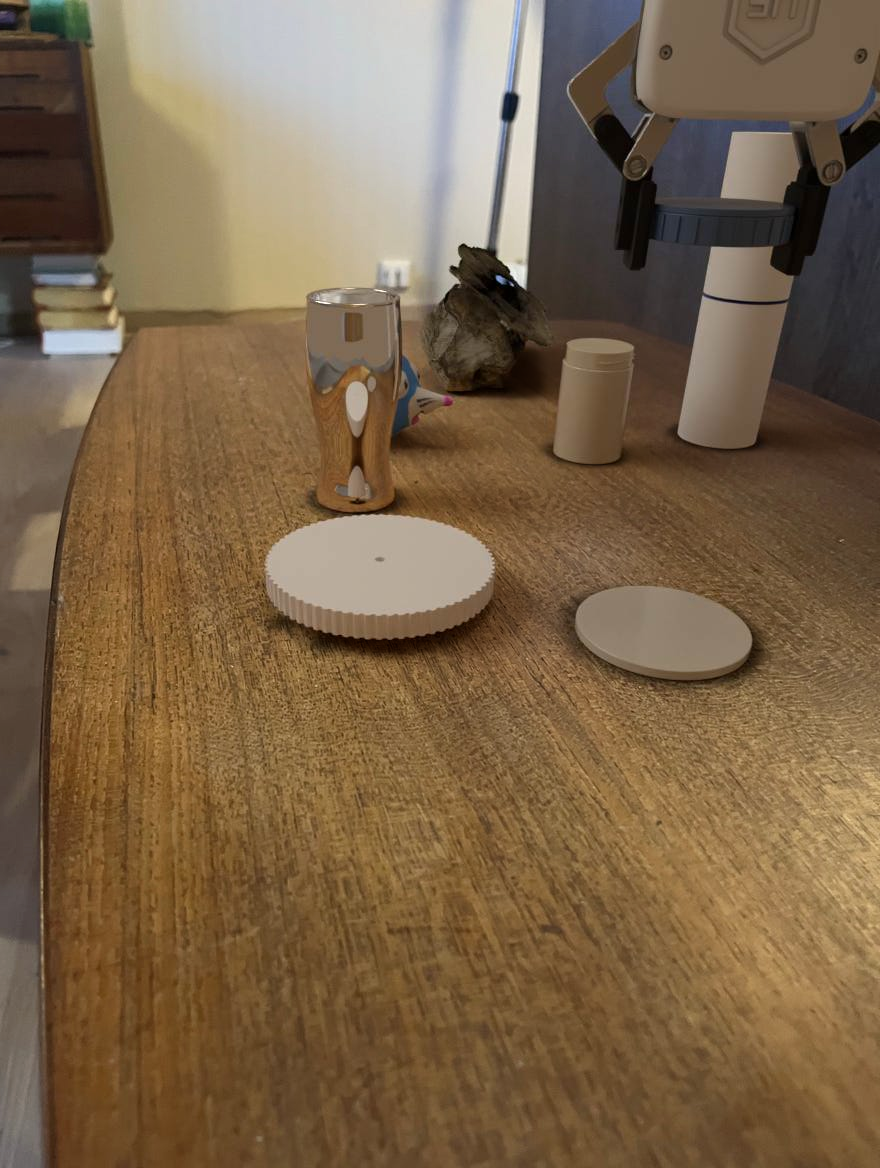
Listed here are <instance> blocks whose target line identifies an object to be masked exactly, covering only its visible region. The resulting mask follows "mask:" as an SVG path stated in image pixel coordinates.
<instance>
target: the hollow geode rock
mask: <svg viewBox="0 0 880 1168" xmlns="http://www.w3.org/2000/svg"><path fill="white" fill-rule="evenodd" d="M457 255H458V256H459V258H460V260H459V262H458V266H456V265H453V264H451V265H450V266H449V268H448V272H449V273H450V274H451V275H452V276H453V277H454V278H456V279H457V281H458V282H459V283H454V284H453V285H452V287H451V288H450V289H449V290H448V291H447V292H445V294H444V297H443V298H442V299H441V300H440V301H439V303H437V304H436V306H435V307H434V309H433V310H432V311H431V312H429V313H428V314H426V316H425V317H424V319H423V322H422V325H421V329H420V331H419V334H420V342H421V344H422V350H423V352H424V354H425V356H426V359H427V361H428V365H429V366H430V368H431V369H432V371H433V372H434V374H435V376H436V378H437V380H438V382H439V384H440V385H441V387H442V388H443V390H444V391H446V392H455V391H456V392H465V391H475V390H477V389H484V388H493V389H501V388H504V386H505V383H506V380H507V378H508V377H509V375H510V373H511V370H512V368H513V366H515V364H516V363H517V361H518V360H519V357H520V355H521V353H522V352H523V351H524V349H525V348H526V343H527V342H529V341H532V342H534V344H535V345H538V346H540V347H541V346H543V347H547V346H551V344H552V340H553V339H554V335H552V333H551V330H550V328H549V327H548V324H549V323H548V318H547V315H546V312H548V310H549V309H548V306H547V304H546V303H545V302H544V301H543V300H542V299H541V298H540V297H536V296H534V293H533V292H531V291H528V290H526V289H525V288H524V287H523V286H521V285H520V284H519V282H518V281H517V280H515V278H514V276H513V275H511V269H510V268H509V266H508V265H506V264H504V262H503V261H502V260H500V259H499V258H498V257H496V256H495V255H494V254H493V253H492V252H490V250H488V249H486V248H483V247H478V246H476V247H475V246H472V247H471V246H469V245H468V244H466V243H464V242H463V243H460V244H459V245H458V246H457ZM497 277H501V278H502V279H504V280H506V281H508V282H510V284H512V285H510V284H503V283H502V282H500V281H499V280H498V279H497Z"/></svg>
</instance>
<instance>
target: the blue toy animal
mask: <svg viewBox="0 0 880 1168" xmlns="http://www.w3.org/2000/svg"><path fill="white" fill-rule="evenodd" d="M420 373H421V372H420V371H419V369H418V367H417V365H415V364H414V363H412V362H411V361H409V360H408V358H407V357H406V356H405V355H404V354H403V353H402V376H401V384H400V391H399V398H398V403H397V409H396V414H395V419H394V425H393V430H392V436H391V438H393V437H395V436H397V435H398V434H400V433H401V432H402V431H403V430H405V429H406V428H409V427H410V426H411V425H413V426H414V425H417V423H418V422H420V417H419V415H420V414H423V415H428V414H430V413H432V412H434V411H435V410H438V409H439V408H441V407H450V406H453V404H454V399H453V397H452V396H451V395H447V394H446V395H443V394H440V393H439V392H434V391H432V390H429V389H426V388H423V387H422V386H421V384H420V383H419V382H420V379H421V374H420Z"/></svg>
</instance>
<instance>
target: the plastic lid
mask: <svg viewBox="0 0 880 1168" xmlns="http://www.w3.org/2000/svg"><path fill="white" fill-rule="evenodd" d="M264 571H265V572H264V573H265V586H266V593H267V594H268V595H267V596H268V598H269V599H270V602H271V603H273V606H274V607H275V608H277V610H278V611H279V612H283V615H284V616H285V617H288V616H289V619H290V620H292V621H295V620H296V624H298V625H299V624H300V625H301V624H302V625H304V627H306V628H312V629H313V631H314V630H315V631H322V633H325V634H329V633H330V634H332V635H333V636H339V635H340V636H342V637H344V638H349V637H353V638H354V639H360V638H364V639H365V640H371V639H375V640H379V641H381V640H383V639H387V640H390V641H391V640H393V639H398V640H404V639H405V638H409V639H412V638H415V637H417V636H420V637H425V636H426V635H427V634H429V635H435V634H436V632H439V633H440V632H441V633H442V632H444V631H446V629H449V630H451V629H453V628H454V627H455V626H461V625H462V623H463V622H464V623H466V622H468V621H469V620H470V618H471V619H474V618H475V617H476V614H477V615H479V614H481V610H485V608H486V606H487V605H488V604H489V601H491V600H492V596H493V593H494V585H495V575H496V562H495V557H493V553H492V552H491V550H490V549H489V548H487V545H486V544H483V541H481V540H478V537H476V536H473V535H472V534H471V533H467V531H465V530H460V528H458V527H453V526H452V525H451V524H445V522H437V520H429V519H428V518H420V517H418V516H415V517H412V516H411V515H405V516H404V515H402V514H397V515H394V514H390V513H389V514H384V513H379V514H375V513H372V514H367V515H366V514H360V515H356V514H353V515H351V516H348V515H346V516H343V517H335V518H332V519H330V518H328V519H325V520H319V521H317V522H316V523H314V522H313V523H310V525H303V527H301V528H296V530H295V531H290V532H289V534H285V535H284V536H283V538H280V539H279V540H278V541H276V542H275V543H274V545H272V546H271V547H270V549H269V550H268V552H267V554H266V556H265V559H264Z"/></svg>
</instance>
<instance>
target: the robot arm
mask: <svg viewBox="0 0 880 1168" xmlns="http://www.w3.org/2000/svg"><path fill="white" fill-rule="evenodd" d="M639 11H640V12H639V16H638V20H636V21H635V22H634V23H633V24H632V25H631V26H630V27H628V28H627V30H625V31H624V32H623V33H622V34H621V35H619V36H618V37H616V39H615V40H614V41H613V42H612V43H611V44H609V45H608V46H607V47H606V48H605V49H603V50H602V52H600V53H599V54H598V55H597V56H596V57H595V58H593V59H592V60H591V61H590V62H589V63H588V64H587V65H585V66H584V67H583V68H582V69H581V70H580V71H578V72H577V73H576V74H575V75H574V76H573V77H572V78H571V79H570V80H569V81H568V82H567V86H566V94H567V97H568V98H569V100H570V102H571V103H572V105H573V106H574V108H575V110H576V111H577V113H578V115H579V117H580V118H581V119H582V121H583V123H584V124H585V125H586V127H587V129H588V131H589V132H590V134H591V136H592V138H593V140H594V141H595V142H596V143H597V145H598V146H599V147H600V149H601V150H602V151H603V153H604V154H605V156H606V157H607V158H608V160H609V161H610V162H611V163H612V165H613V166H614V168H615V169H616V170H617V172H618V174H619V175H620V176H621V184H620V192H619V197H618V198H619V200H618V207H617V212H616V213H617V216H616V220H615V221H616V222H615V229H614V237H613V249H614V250H615V251H623V253H622V264H623V265H624V266H625V267H626V268H627V270H629V271H636V272H637V271H638V272H639V271H641V269H645V267H646V264H647V258H648V251H649V246H650V245H649V244H650V239H649V238H650V232H651V225H652V219H653V212H654V205H655V199H656V198H657V193H658V183H655V181H654V180H653V173H654V166H653V164H654V163H655V161H656V159H657V158H658V156H659V155H660V153H661V151H662V150H663V148H664V146H665V145H666V143H667V141H668V140H669V138H670V137H671V135H672V134H673V132H674V130H675V129H676V127H677V125H678V124H679V122H680V121H681V120H708V121H709V120H711V121H712V120H713V121H714V120H715V121H751V122H753V121H755V122H756V121H757V122H761V121H762V122H788V124H789V128H790V133H792V137H793V141H794V145H795V149H796V153H797V158H798V162H799V166H800V169H799V170H798V174H797V179H796V181H791V183H790V185H788V186H787V188H786V191H785V195H784V200H783V203H787V204H791V205H794V206H795V212H794V220H793V225H792V229H791V234H790V238H789V242H787V243H786V244H784V245H779V246H773V250H772V255H771V260H770V265H771V266H772V267H774V269H776V270H778V271H780V272H782V273H784V274H785V275H787V276H794V277H800V275H801V274H802V271H803V267H804V264H805V260H806V259H805V258H806V257H812V256H813V255H814V254H815V252H816V249H817V246H818V243H819V240H820V236H821V235H820V234H821V230H822V225H823V222H824V218H825V215H826V210H827V205H828V201H829V197H830V193H831V189H832V186H835V185H837V184H839V183H840V182H841V181H842V179H844V177H845V174H846V173H847V172H848V171H849V170H850V169H851V168H853V167H854V166H855V165H857V163H859V162H860V161H861V160H862V159H864V158H865V157H866V156H867V155H868V154H869V153H871V152H872V151H873V150H874V149H876V147H878V145H880V0H641V5H640V10H639ZM630 66H631V68H630V74H629V75H630V76H629V99H630V103H631V105H632V106H634V108H635V109H636V110H638V111H639V112H641V113H642V114H643V116H642V118H641V119H640V120H639V121H638V124H637V126H636V128H635V129H634V131H633V133H632V134H631V135H630V133H629V132H628V131H627V129H626V128H625V126H624V125H623V124H622V122H621V121H620V120H619V118H617V116H616V115H615V112H614V111H613V109H612V107H611V106H610V104H609V102H608V101H607V98H606V90H607V87H608V86H609V85H610V83H611V82H613V81H614V80H615V79H616V78H617V77H618V76H619V75H620V74H622V73H623V72H624V71H625V70H626V69H628V68H629V67H630ZM871 88H873V90H874V93H875V98H874V101H873V103H872V104H871V105H870V106H869V107H868V109H866V111H865V113H863V114H862V115H861V117H859V118H858V119H857V120H855V121H854V122H851V124H849V126H847V127H846V128H844V130H843V131H842V132H839V129H838V124H837V120H839V119H842V118H845V117H848V116H850V115H852V114H854V113H855V112H857V111H858V110H859V109H860V108H861V107H862V106H863V105H864V103H865V102H866V99H867V97H868V95H869V92H870V90H871Z"/></svg>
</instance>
